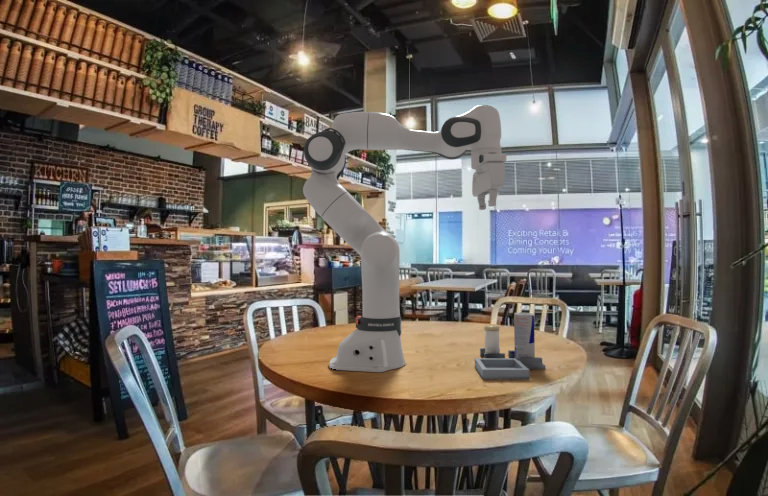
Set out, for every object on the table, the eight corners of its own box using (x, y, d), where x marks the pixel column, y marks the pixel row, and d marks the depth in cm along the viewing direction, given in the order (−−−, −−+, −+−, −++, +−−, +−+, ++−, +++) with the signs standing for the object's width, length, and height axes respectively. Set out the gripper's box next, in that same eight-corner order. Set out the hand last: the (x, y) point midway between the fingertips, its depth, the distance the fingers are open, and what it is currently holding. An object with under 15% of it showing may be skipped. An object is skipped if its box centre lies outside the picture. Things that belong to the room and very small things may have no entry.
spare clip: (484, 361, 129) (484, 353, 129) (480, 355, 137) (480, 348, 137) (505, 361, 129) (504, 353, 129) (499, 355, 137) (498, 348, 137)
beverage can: (536, 367, 123) (535, 314, 123) (515, 366, 124) (515, 314, 124) (533, 362, 128) (532, 312, 128) (513, 361, 129) (513, 311, 129)
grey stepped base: (517, 369, 121) (517, 358, 121) (508, 360, 131) (508, 350, 131) (545, 369, 121) (545, 358, 121) (534, 360, 131) (534, 350, 131)
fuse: (486, 360, 131) (485, 327, 131) (483, 356, 136) (482, 325, 136) (501, 360, 131) (500, 327, 131) (498, 356, 135) (497, 325, 136)
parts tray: (482, 379, 112) (482, 369, 112) (474, 367, 124) (474, 358, 124) (529, 379, 111) (529, 369, 111) (517, 367, 123) (517, 358, 123)
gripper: (466, 168, 138) (467, 211, 138) (486, 153, 117) (487, 204, 117) (486, 168, 138) (487, 211, 138) (508, 153, 118) (509, 204, 117)
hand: (487, 208), depth 127 cm, fingers open, 8 cm apart
